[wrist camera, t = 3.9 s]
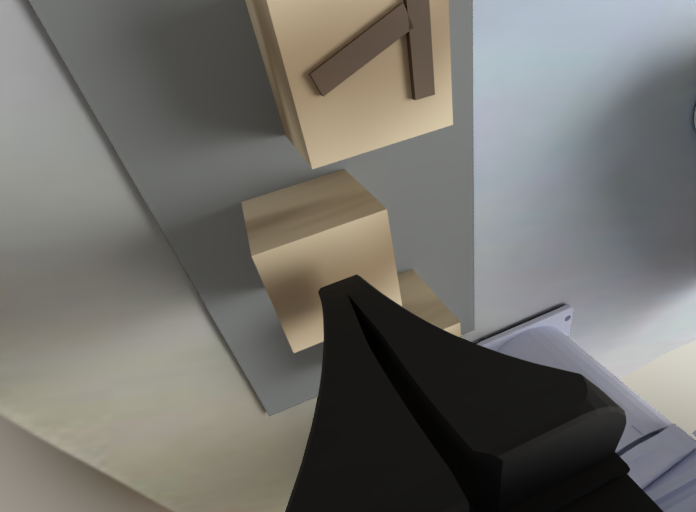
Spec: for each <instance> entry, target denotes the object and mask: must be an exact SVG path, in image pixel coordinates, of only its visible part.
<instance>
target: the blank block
mask: <svg viewBox="0 0 696 512" xmlns="http://www.w3.org/2000/svg"><path fill="white" fill-rule="evenodd" d="M241 203H242V209H243V214H244V219H245V225H246V230H247V235H248V241H249V246H250V251H251V256H252V259H253V261H254V263H255V266H256V268H257V270H258V272H259V275H260V277H261V279H262V282H263V284H264V286H265V289H266V291H267V293H268V295H269V298H270V300H271V302H272V305H273V307H274V309H275V311H276V314H277V316H278V318H279V321H280V323H281V325H282V328H283V330H284V332H285V334H286V337H287V339H288V341H289V344H290V346H291V348H292V351H293V353H296V352H298V351H301V350H303V349H306V348H308V347H311V346H313V345H316V344H318V343H321V342H323V341H324V328H323V311H322V304H321V300H320V297H319V294H318V291H319V289H320V288H321V287H324V286H327V285H330V284H332V283H335V282H338V281H340V280H343V279H346V278H348V277H351V276H354V275H356V274H357V275H359V276H361V277H362V278H363V279H364V280H366V281H367V282H368V283H369V284H371V285H372V286H373V287H374V288H376V289H377V290H378V291H380V292H381V293H383V294H384V295H385V296H387V297H388V298H390V299H391V300H393V301H394V302H396V303H397V304H399V305H400V306H402V301H401V295H400V289H399V282H398V276H397V270H396V264H395V257H394V251H393V245H392V238H391V232H390V226H389V219H388V213H387V209H386V208H385V207H384V206H383V205H382V204H381V203H380V202H379V201H378V200H377V199H376V198H375V197H374V196H373V195H371V194H370V193H369V192H368V191H367V190H366V189H365V188H364V187H363V186H362V185H361V184H360V183H359V182H358V181H357V180H356V179H355V178H354V177H353V176H351V175H350V174H349V173H348V172H347V171H346V170H345V169H343V170H339V171H336V172H333V173H330V174H327V175H324V176H321V177H318V178H315V179H311V180H308V181H305V182H302V183H299V184H296V185H293V186H290V187H287V188H283V189H280V190H277V191H274V192H271V193H268V194H265V195H262V196H259V197H256V198H252V199H249V200H246V201H243V202H241Z"/></svg>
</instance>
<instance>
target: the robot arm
mask: <svg viewBox="0 0 696 512" xmlns="http://www.w3.org/2000/svg"><path fill="white" fill-rule="evenodd" d="M318 294H319V297H320V300H321V304H322V311H323V328H324V343H323V361H322V371H321V379H320V386H319V393H318V398H317V403H316V408H315V414H314V418H313V423H312V427H311V431H310V434H309V438H308V442H307V445H306V449H305V453H304V456H303V460H302V463H301V467H300V470H299V473H298V476H297V479H296V482H295V484H294V487H293V490H292V493H291V496H290V499H289V502H288V505H287V508H286V511H285V512H696V440H694V439H693V438H692V437H691V436H690V435H688V434H687V433H686V432H685V431H683V430H682V429H681V428H680V427H679V426H677V425H676V424H673V423H671V422H670V421H669V420H668V419H667V418H665V417H664V416H663V415H662V414H660V413H659V412H658V411H657V410H656V409H655V408H653V407H652V406H651V405H650V404H648V403H647V402H646V401H645V400H644V399H642V398H641V397H640V396H639V395H637V394H636V393H635V392H634V391H633V390H631V389H630V388H629V387H628V386H627V385H625V384H624V383H623V382H622V381H620V380H619V379H618V378H617V377H616V376H615V375H613V374H612V373H611V372H610V371H609V370H607V369H606V368H605V367H604V366H603V365H601V364H600V363H599V362H598V361H596V360H595V359H594V358H593V357H592V356H590V355H589V354H588V353H587V352H586V351H584V350H583V349H582V348H581V347H580V346H578V345H577V344H576V343H575V342H573V341H572V340H571V339H570V338H569V333H570V328H571V323H572V318H573V314H574V308H573V307H572V306H570V305H565V306H563V307H560V308H558V309H556V310H553V311H551V312H549V313H546V314H544V315H542V316H539V317H537V318H535V319H532V320H530V321H528V322H525V323H523V324H521V325H518V326H516V327H514V328H511V329H509V330H507V331H504V332H502V333H500V334H497V335H495V336H493V337H490V338H488V339H486V340H483V341H481V342H479V343H477V344H475V343H472V342H470V341H467V340H465V339H463V338H460V337H458V336H456V335H453V334H451V333H449V332H447V331H445V330H443V329H441V328H439V327H437V326H435V325H433V324H431V323H429V322H427V321H425V320H424V319H422V318H420V317H418V316H417V315H415V314H413V313H411V312H410V311H408V310H407V309H405V308H403V307H402V306H400V305H399V304H397V303H396V302H394V301H393V300H391V299H390V298H388V297H387V296H385V295H384V294H383V293H381V292H380V291H378V290H377V289H376V288H374V287H373V286H372V285H371V284H369V283H368V282H367V281H366V280H364V279H363V278H362V277H361V276H359V275H357V274H356V275H354V276H351V277H348V278H346V279H343V280H340V281H338V282H335V283H332V284H330V285H327V286H324V287H321V288H320V289H319V291H318ZM693 434H694V435H695V436H696V431H694V432H693Z"/></svg>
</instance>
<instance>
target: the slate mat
mask: <svg viewBox="0 0 696 512" xmlns="http://www.w3.org/2000/svg"><path fill="white" fill-rule="evenodd" d="M29 2H30V4H31V6H32V7H33V9H34V11H35V13H36V14H37V16H38V18H39V19H40V21H41V23H42V25H43V26H44V28H45V30H46V32H47V33H48V35H49V37H50V38H51V40H52V42H53V44H54V45H55V47H56V49H57V50H58V52H59V54H60V56H61V57H62V59H63V61H64V63H65V64H66V66H67V68H68V69H69V71H70V73H71V75H72V76H73V78H74V80H75V82H76V83H77V85H78V87H79V88H80V90H81V92H82V94H83V95H84V97H85V99H86V101H87V102H88V104H89V106H90V107H91V109H92V111H93V113H94V114H95V116H96V118H97V120H98V121H99V123H100V125H101V126H102V128H103V130H104V132H105V133H106V135H107V137H108V139H109V140H110V142H111V144H112V145H113V147H114V149H115V151H116V152H117V154H118V156H119V158H120V159H121V161H122V163H123V164H124V166H125V168H126V170H127V171H128V173H129V175H130V176H131V178H132V180H133V182H134V183H135V185H136V187H137V189H138V190H139V192H140V194H141V195H142V197H143V199H144V201H145V202H146V204H147V206H148V208H149V209H150V211H151V213H152V214H153V216H154V218H155V220H156V221H157V223H158V225H159V227H160V228H161V230H162V232H163V233H164V235H165V237H166V239H167V240H168V242H169V244H170V246H171V247H172V249H173V251H174V252H175V254H176V256H177V258H178V259H179V261H180V263H181V265H182V266H183V268H184V270H185V271H186V273H187V275H188V277H189V278H190V280H191V282H192V284H193V285H194V287H195V289H196V290H197V292H198V294H199V296H200V297H201V299H202V301H203V302H204V304H205V306H206V308H207V309H208V311H209V313H210V315H211V316H212V318H213V320H214V321H215V323H216V325H217V327H218V328H219V330H220V332H221V334H222V335H223V337H224V339H225V340H226V342H227V344H228V346H229V347H230V349H231V351H232V353H233V354H234V356H235V358H236V359H237V361H238V363H239V365H240V366H241V368H242V370H243V372H244V373H245V375H246V377H247V378H248V380H249V382H250V384H251V385H252V387H253V389H254V391H255V392H256V394H257V396H258V397H259V399H260V401H261V403H262V404H263V406H264V408H265V410H266V411H267V413H268V415H269V416H271V415H274V414H276V413H278V412H281V411H283V410H286V409H288V408H290V407H293V406H295V405H297V404H300V403H302V402H305V401H307V400H309V399H312V398H314V397H316V396H318V393H319V386H320V379H321V371H322V361H323V343H324V341H323V342H321V343H318V344H316V345H313V346H311V347H308V348H306V349H303V350H301V351H298V352H296V353H293V351H292V348H291V346H290V344H289V341H288V339H287V337H286V334H285V332H284V330H283V328H282V325H281V323H280V321H279V318H278V316H277V314H276V311H275V309H274V307H273V305H272V302H271V300H270V298H269V295H268V293H267V291H266V289H265V286H264V284H263V282H262V279H261V277H260V275H259V272H258V270H257V268H256V266H255V263H254V261H253V259H252V256H251V251H250V246H249V241H248V235H247V230H246V225H245V219H244V214H243V209H242V203H241V202H243V201H246V200H249V199H252V198H256V197H259V196H262V195H265V194H268V193H271V192H274V191H277V190H280V189H283V188H287V187H290V186H293V185H296V184H299V183H302V182H305V181H308V180H311V179H315V178H318V177H321V176H324V175H327V174H330V173H333V172H336V171H339V170H343V169H345V170H346V171H347V172H348V173H349V174H350V175H351V176H353V177H354V178H355V179H356V180H357V181H358V182H359V183H360V184H361V185H362V186H363V187H364V188H365V189H366V190H367V191H368V192H369V193H370V194H371V195H373V196H374V197H375V198H376V199H377V200H378V201H379V202H380V203H381V204H382V205H383V206H384V207H385V208H386V209H387V213H388V219H389V226H390V232H391V238H392V245H393V251H394V257H395V264H396V270H397V275H398V274H401V273H403V272H406V271H409V270H411V269H413V270H414V271H415V272H416V273H417V274H418V275H419V277H420V278H421V279H422V280H423V281H424V282H425V283H426V284H427V286H428V287H429V288H430V289H431V290H432V291H433V292H434V293H435V295H436V296H437V297H438V298H439V299H440V300H441V301H442V302H443V304H444V305H445V306H446V307H447V308H448V309H449V310H450V311H451V313H452V314H453V315H454V316H455V317H456V318H457V319H458V320H459V322H460V329H461V335H464V334H466V333H468V332H471V331H473V330H474V178H473V0H449V25H450V52H451V80H452V108H453V125H451V126H448V127H444V128H441V129H438V130H435V131H432V132H429V133H425V134H422V135H419V136H416V137H413V138H410V139H407V140H403V141H400V142H397V143H394V144H391V145H388V146H385V147H381V148H378V149H375V150H372V151H369V152H366V153H362V154H359V155H356V156H353V157H350V158H347V159H344V160H340V161H337V162H334V163H331V164H328V165H325V166H322V167H318V168H315V169H312V168H311V167H310V166H309V164H308V163H307V162H306V161H305V159H304V158H303V157H302V156H301V154H300V153H299V152H298V151H297V149H296V148H295V147H294V146H293V144H292V143H291V142H290V141H289V139H288V138H287V137H286V135H285V132H284V129H283V125H282V122H281V119H280V115H279V112H278V109H277V105H276V102H275V99H274V95H273V92H272V89H271V85H270V82H269V79H268V75H267V72H266V69H265V65H264V62H263V59H262V55H261V52H260V49H259V45H258V42H257V39H256V35H255V32H254V29H253V25H252V22H251V19H250V15H249V12H248V9H247V5H246V2H245V0H29Z"/></svg>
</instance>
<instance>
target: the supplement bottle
mask: <svg viewBox="0 0 696 512" xmlns="http://www.w3.org/2000/svg"><path fill="white" fill-rule="evenodd" d="M694 124H695V128H696V108H695V114H694Z"/></svg>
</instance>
